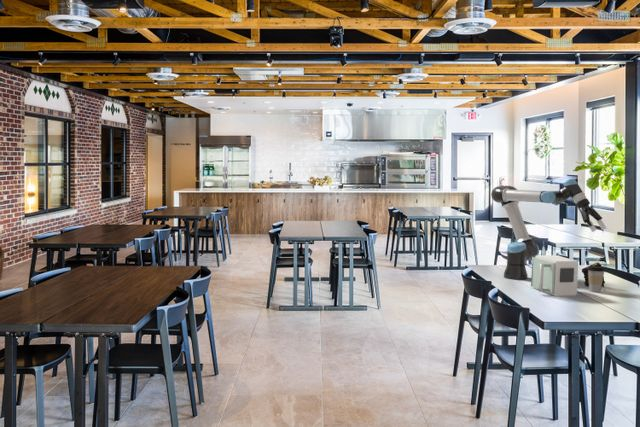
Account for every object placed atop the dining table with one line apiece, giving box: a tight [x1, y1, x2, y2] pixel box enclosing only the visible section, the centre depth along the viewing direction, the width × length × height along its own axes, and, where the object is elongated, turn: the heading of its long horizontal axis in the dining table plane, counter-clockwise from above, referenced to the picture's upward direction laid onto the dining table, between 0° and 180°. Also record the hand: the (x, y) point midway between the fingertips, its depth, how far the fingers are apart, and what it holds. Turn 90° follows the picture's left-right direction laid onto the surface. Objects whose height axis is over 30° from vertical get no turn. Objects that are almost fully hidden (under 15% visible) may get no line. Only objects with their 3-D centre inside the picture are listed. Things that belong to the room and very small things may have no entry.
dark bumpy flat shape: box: [581, 262, 606, 288], centre depth 348 cm, size 4×13×15 cm, turn 86°
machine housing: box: [533, 254, 579, 297], centre depth 331 cm, size 23×14×20 cm, turn 9°
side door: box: [530, 257, 555, 295], centre depth 330 cm, size 23×7×18 cm, turn 9°
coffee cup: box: [587, 265, 605, 294], centre depth 333 cm, size 9×9×15 cm
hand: (599, 230), depth 343 cm, fingers open, 13 cm apart
